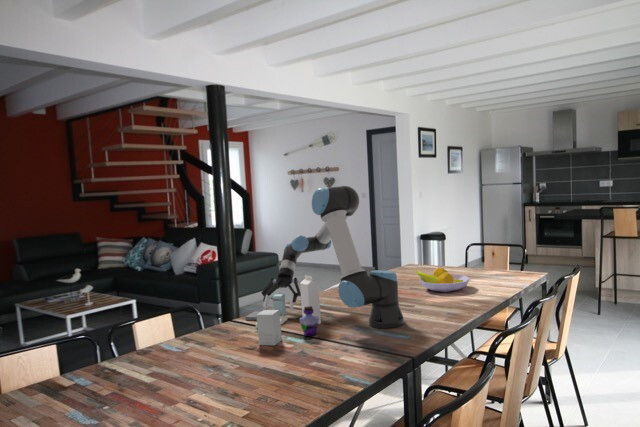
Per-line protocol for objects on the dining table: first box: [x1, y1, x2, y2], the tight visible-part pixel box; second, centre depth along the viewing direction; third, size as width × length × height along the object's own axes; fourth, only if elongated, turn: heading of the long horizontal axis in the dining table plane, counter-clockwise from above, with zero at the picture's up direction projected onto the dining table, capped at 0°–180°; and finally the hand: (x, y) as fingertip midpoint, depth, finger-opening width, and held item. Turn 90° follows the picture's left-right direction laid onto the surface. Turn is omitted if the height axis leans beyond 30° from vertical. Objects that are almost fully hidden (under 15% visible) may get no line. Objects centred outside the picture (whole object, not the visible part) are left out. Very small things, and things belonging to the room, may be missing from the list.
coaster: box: [245, 310, 261, 321], centre depth 235 cm, size 10×10×2 cm
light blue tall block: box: [271, 293, 287, 315], centre depth 231 cm, size 5×4×11 cm
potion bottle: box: [299, 306, 319, 338], centre depth 201 cm, size 9×9×12 cm
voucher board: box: [255, 314, 288, 329], centre depth 222 cm, size 14×10×2 cm
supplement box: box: [256, 309, 283, 346], centre depth 194 cm, size 7×7×13 cm
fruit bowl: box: [414, 267, 471, 293], centre depth 264 cm, size 28×27×11 cm
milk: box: [299, 275, 322, 325], centre depth 216 cm, size 6×6×22 cm
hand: (277, 308), depth 229 cm, fingers open, 13 cm apart
